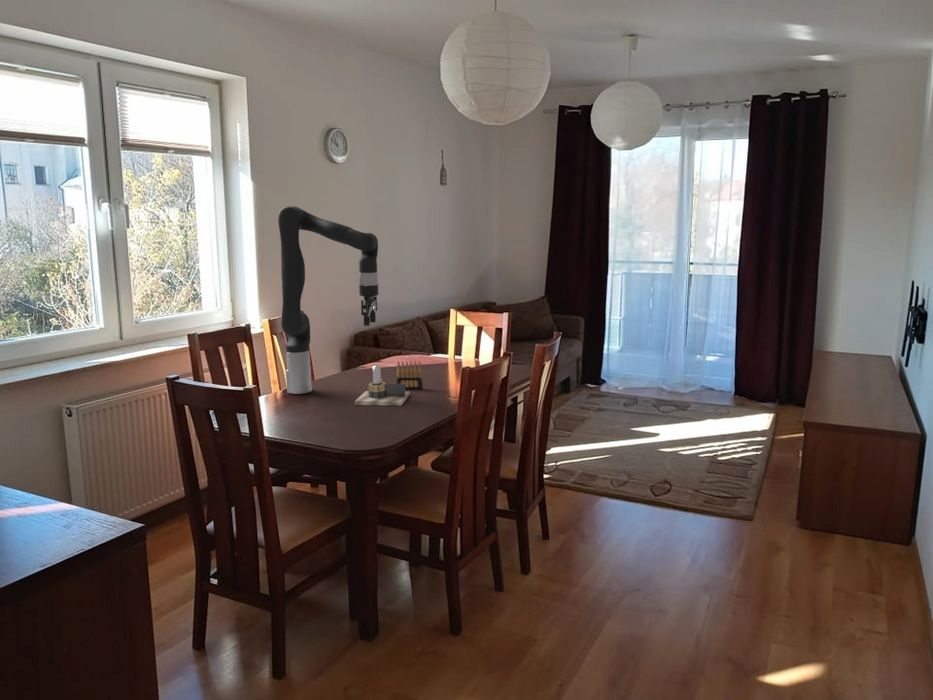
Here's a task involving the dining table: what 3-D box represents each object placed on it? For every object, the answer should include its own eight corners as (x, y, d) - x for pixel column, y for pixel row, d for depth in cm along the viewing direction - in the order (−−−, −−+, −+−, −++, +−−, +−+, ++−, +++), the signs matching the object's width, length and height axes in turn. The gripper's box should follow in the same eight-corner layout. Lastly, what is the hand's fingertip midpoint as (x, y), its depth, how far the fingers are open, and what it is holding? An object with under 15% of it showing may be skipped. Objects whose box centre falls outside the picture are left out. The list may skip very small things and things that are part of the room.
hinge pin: (373, 397, 286) (371, 367, 283) (375, 395, 288) (373, 365, 286) (380, 397, 285) (379, 367, 283) (382, 395, 288) (381, 365, 286)
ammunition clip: (396, 389, 303) (395, 361, 301) (397, 388, 305) (396, 360, 303) (422, 389, 302) (421, 361, 300) (423, 388, 304) (422, 360, 302)
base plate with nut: (355, 404, 280) (354, 388, 279) (366, 394, 296) (365, 378, 295) (401, 405, 278) (400, 388, 277) (409, 395, 293) (409, 379, 292)
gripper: (364, 281, 299) (366, 321, 302) (354, 285, 285) (355, 326, 288) (382, 282, 298) (383, 321, 301) (372, 285, 284) (374, 326, 287)
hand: (369, 323), depth 295 cm, fingers open, 8 cm apart
